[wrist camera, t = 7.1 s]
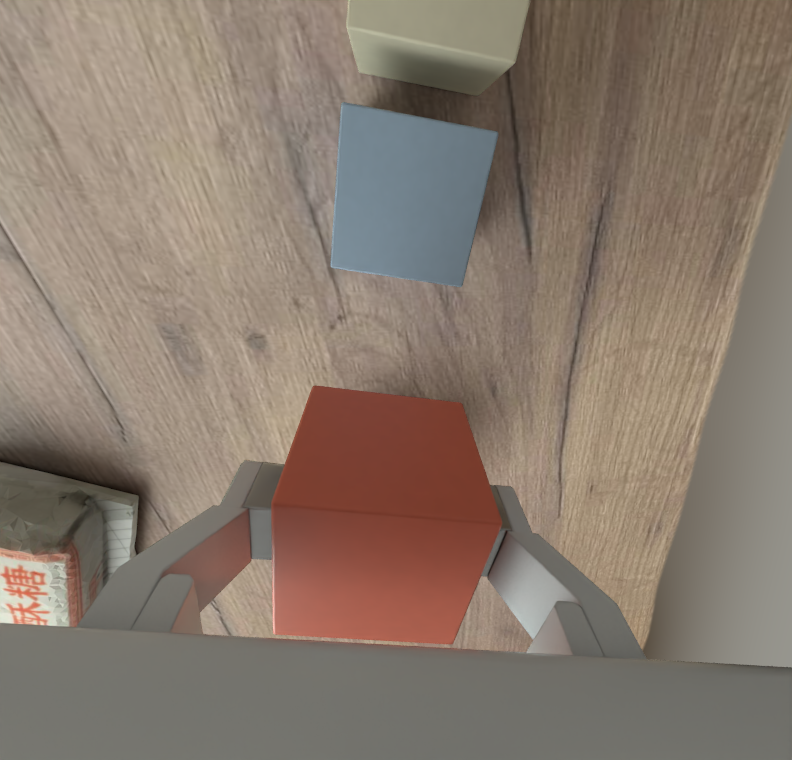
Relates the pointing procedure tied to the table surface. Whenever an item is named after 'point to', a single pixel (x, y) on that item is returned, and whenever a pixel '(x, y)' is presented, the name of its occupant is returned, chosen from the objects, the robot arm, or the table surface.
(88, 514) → the packaged product
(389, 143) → the blue-grey block
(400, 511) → the coral block
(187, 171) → the table surface
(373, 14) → the cream block
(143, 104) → the table surface
